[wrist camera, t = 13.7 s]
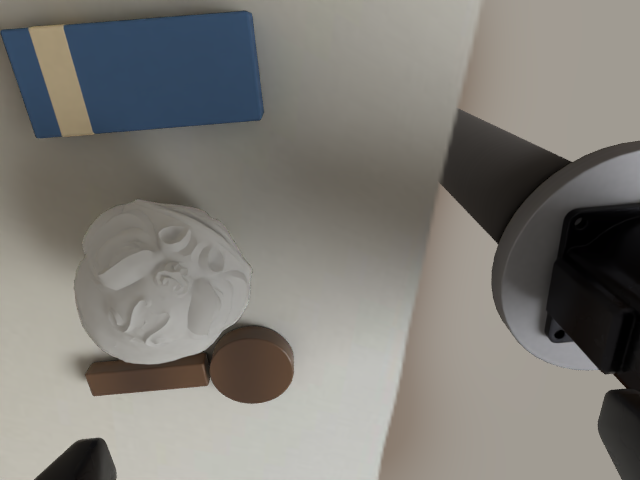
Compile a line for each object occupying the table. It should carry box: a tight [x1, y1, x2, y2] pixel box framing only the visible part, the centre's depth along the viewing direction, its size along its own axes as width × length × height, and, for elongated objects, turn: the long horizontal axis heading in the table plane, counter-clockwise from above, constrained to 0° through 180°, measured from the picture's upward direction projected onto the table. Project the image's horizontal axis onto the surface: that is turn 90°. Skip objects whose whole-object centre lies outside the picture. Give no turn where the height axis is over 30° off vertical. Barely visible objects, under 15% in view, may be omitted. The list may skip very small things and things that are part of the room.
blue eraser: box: [0, 11, 264, 138], centre depth 16 cm, size 8×4×2 cm, turn 94°
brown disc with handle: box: [85, 326, 294, 404], centre depth 22 cm, size 10×4×1 cm, turn 94°
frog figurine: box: [74, 199, 253, 364], centre depth 16 cm, size 6×7×7 cm
